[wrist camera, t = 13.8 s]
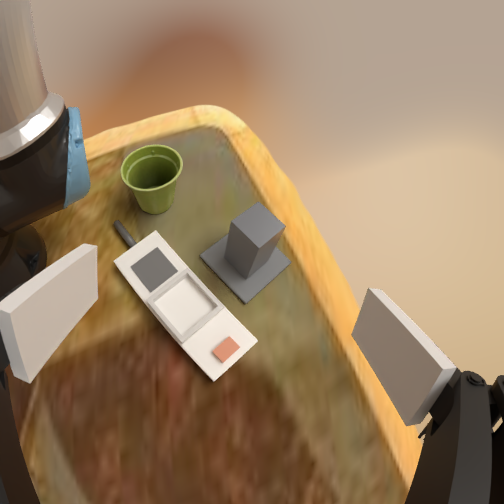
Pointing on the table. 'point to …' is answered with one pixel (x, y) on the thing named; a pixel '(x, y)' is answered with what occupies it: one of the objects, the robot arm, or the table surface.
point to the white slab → (183, 304)
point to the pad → (235, 279)
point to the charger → (252, 239)
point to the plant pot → (152, 176)
